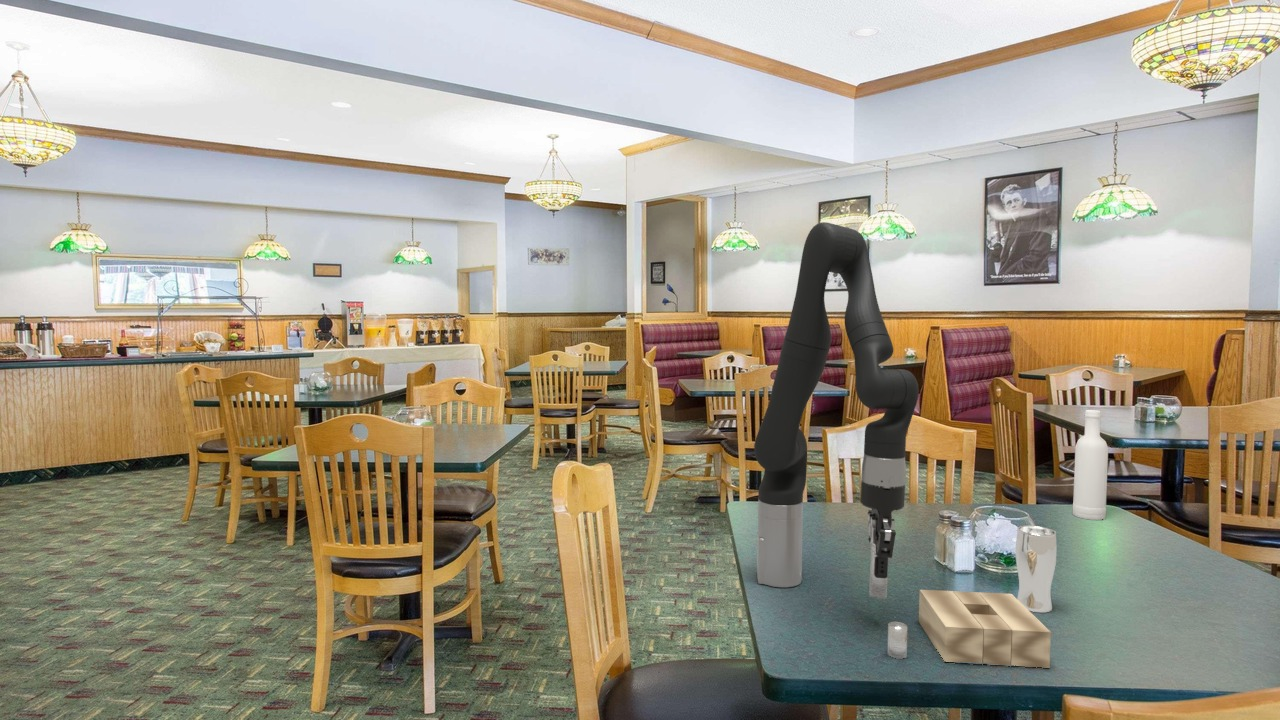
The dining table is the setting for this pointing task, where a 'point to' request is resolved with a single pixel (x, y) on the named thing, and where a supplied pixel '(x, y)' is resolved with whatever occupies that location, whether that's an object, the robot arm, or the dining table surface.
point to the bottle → (1090, 471)
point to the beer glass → (1035, 566)
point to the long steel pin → (877, 579)
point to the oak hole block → (983, 628)
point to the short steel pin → (897, 640)
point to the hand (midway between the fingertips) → (878, 573)
